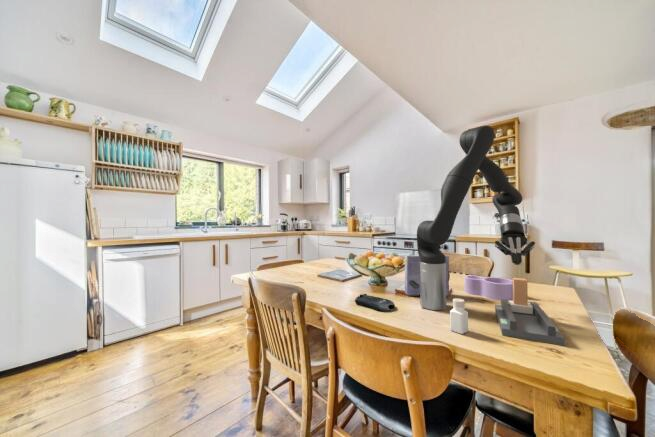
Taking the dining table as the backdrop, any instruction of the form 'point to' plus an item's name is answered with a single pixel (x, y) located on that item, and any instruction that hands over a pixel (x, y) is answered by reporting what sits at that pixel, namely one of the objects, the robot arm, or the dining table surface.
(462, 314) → the salt shaker
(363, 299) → the electronic device
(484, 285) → the lavender double ring holder
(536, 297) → the dining table surface
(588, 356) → the dining table surface
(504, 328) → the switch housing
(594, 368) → the dining table surface
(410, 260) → the cake pan box
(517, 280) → the switch lever
